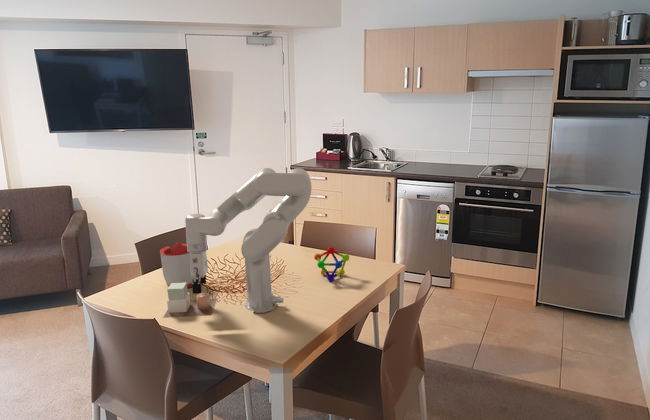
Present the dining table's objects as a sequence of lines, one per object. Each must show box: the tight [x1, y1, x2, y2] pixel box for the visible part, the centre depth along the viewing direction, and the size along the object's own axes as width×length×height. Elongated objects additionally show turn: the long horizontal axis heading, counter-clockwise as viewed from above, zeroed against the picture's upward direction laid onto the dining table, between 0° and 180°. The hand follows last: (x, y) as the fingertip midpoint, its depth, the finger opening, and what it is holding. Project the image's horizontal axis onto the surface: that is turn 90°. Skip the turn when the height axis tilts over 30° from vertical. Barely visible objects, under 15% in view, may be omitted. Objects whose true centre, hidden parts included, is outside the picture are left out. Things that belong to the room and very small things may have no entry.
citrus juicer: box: [159, 242, 192, 289], centre depth 230 cm, size 16×17×20 cm
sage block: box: [167, 282, 189, 300], centre depth 204 cm, size 6×6×4 cm
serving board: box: [162, 298, 218, 318], centre depth 206 cm, size 18×15×1 cm
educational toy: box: [313, 246, 350, 282], centre depth 231 cm, size 16×13×15 cm
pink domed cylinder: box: [195, 292, 211, 310], centre depth 205 cm, size 5×5×5 cm
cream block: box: [166, 292, 191, 313], centre depth 205 cm, size 7×7×5 cm
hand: (199, 288), depth 204 cm, fingers open, 9 cm apart
